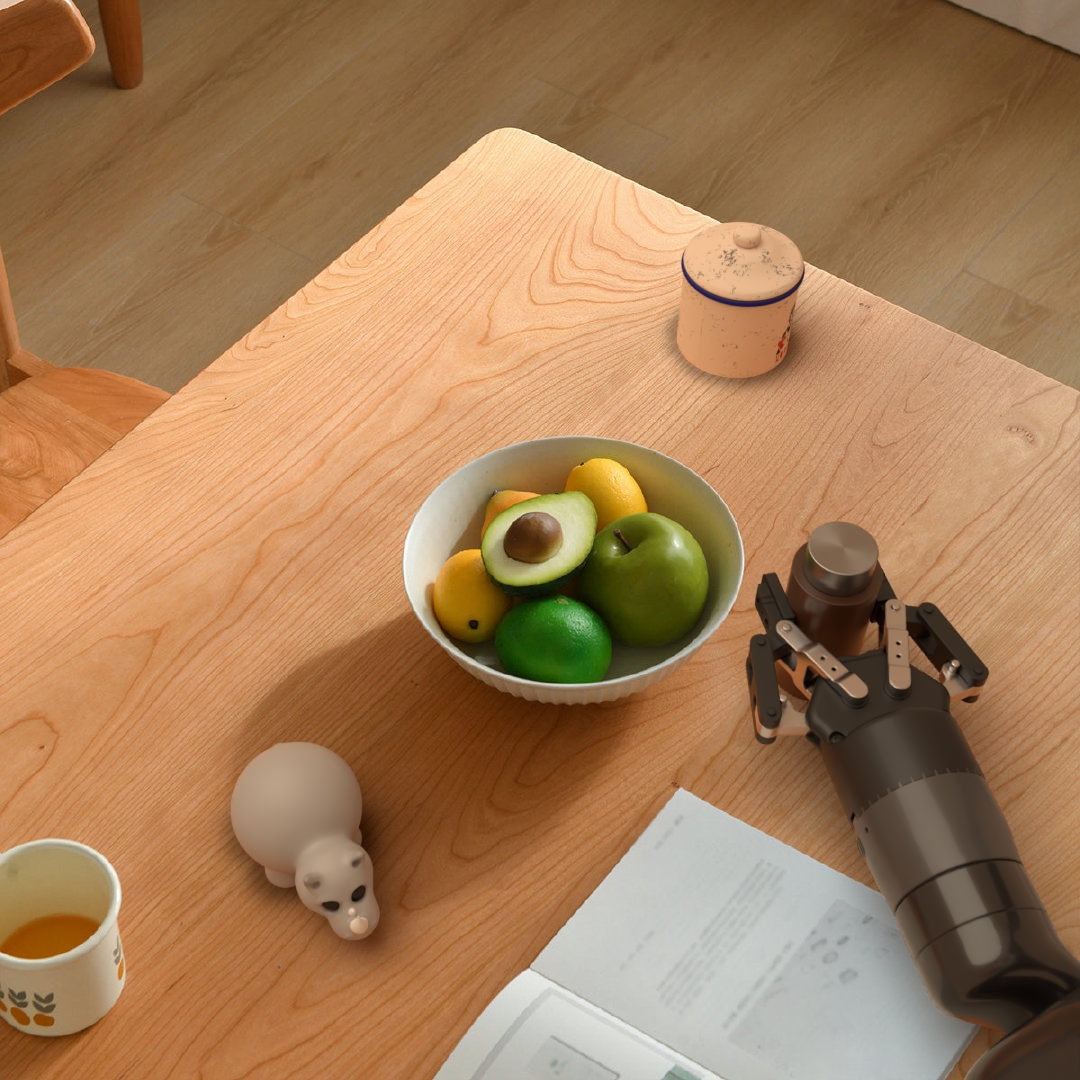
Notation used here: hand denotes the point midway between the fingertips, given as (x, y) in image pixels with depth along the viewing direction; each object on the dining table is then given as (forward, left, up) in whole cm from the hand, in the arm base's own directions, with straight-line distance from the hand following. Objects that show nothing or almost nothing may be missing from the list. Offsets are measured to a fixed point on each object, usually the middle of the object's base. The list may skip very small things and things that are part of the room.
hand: (811, 573), depth 83 cm
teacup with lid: (-5, -29, -8) cm, 31 cm away
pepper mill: (0, +3, -8) cm, 8 cm away
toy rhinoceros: (+32, +10, -8) cm, 34 cm away
